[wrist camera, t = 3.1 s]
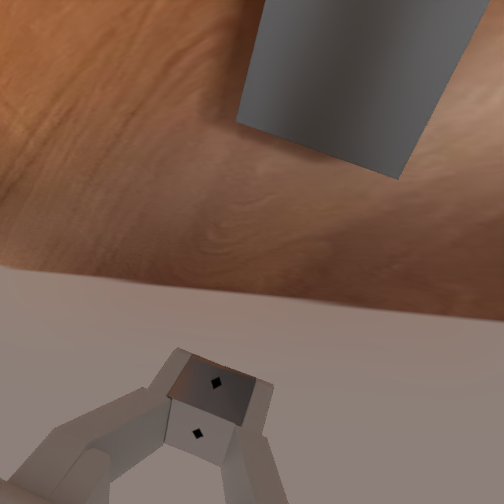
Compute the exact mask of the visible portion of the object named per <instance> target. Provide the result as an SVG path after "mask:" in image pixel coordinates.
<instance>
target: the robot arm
mask: <svg viewBox="0 0 504 504" xmlns="http://www.w3.org/2000/svg"><path fill="white" fill-rule="evenodd" d="M256 379H257V378H255V377H253V376H250V375H247V374H245V373H242V372H239V371H236V370H234V369H231V368H228V367H226V366H225V367H224V366H222V365H220V364H217V363H215V362H212V361H210V360H207V359H205V358H203V357H200V356H198V355H195V354H192V353H190V352H187V351H185V350H183V349H180V348H177V349H176V350H174V351H173V353H172V354H171V356H170V357H169V359H168V360H167V361H166V363H165V364H164V366H163V367H162V369H161V370H160V372H159V373H158V375H157V376H156V377H155V379H154V380H153V382H152V383H151V385H150V386H149V388H148V389H146V388H143V387H142V388H140V389H138V390H136V391H134V392H131V393H129V394H127V395H125V396H123V397H121V398H118V399H116V400H114V401H112V402H110V403H108V404H106V405H103V406H101V407H99V408H97V409H95V410H93V411H91V412H88V413H86V414H84V415H82V416H80V417H78V418H76V419H73V420H71V421H69V422H67V423H65V424H62V425H60V426H58V427H56V428H54V429H53V430H52V431H51V433H50V434H49V435H48V436H47V437H46V438H45V439H44V440H43V442H42V443H41V444H40V445H39V446H38V447H37V448H36V449H35V451H34V452H33V453H32V454H31V455H30V456H29V457H28V458H27V459H26V461H25V462H24V463H23V464H22V465H21V466H20V467H19V468H18V470H17V471H16V472H15V473H14V474H13V475H12V476H11V477H10V479H9V480H8V481H5V480H3V479H1V478H0V504H109V488H110V483H111V482H113V481H114V480H115V479H117V478H118V477H119V476H121V475H122V474H124V473H125V472H126V471H128V470H129V469H131V468H132V467H133V466H135V465H136V464H138V463H139V462H140V461H142V460H143V459H144V458H146V457H147V456H148V455H150V454H151V453H153V452H154V451H155V450H157V449H158V448H160V447H161V446H163V443H165V444H168V445H170V446H173V447H176V448H178V449H181V450H183V451H186V452H188V453H191V454H193V455H195V456H198V457H200V458H202V459H204V460H206V461H209V462H211V463H213V464H215V465H217V466H219V467H221V473H222V480H223V487H224V493H225V500H226V504H288V501H287V498H286V495H285V492H284V489H283V486H282V483H281V480H280V477H279V474H278V471H277V468H276V465H275V461H274V458H273V455H272V452H271V449H270V446H269V444H268V440H267V438H266V437H264V436H262V431H263V427H264V424H265V420H266V416H267V412H268V408H269V404H270V401H271V396H272V393H273V389H274V386H273V384H270V383H268V382H266V381H263V380H260V379H257V380H256Z"/></svg>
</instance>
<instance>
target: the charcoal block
mask: <svg viewBox="0 0 504 504" xmlns="http://www.w3.org/2000/svg"><path fill="white" fill-rule="evenodd" d="M489 2H490V0H265V4H264V8H263V12H262V16H261V21H260V25H259V29H258V33H257V37H256V41H255V45H254V49H253V53H252V57H251V61H250V65H249V69H248V73H247V77H246V81H245V85H244V89H243V93H242V97H241V101H240V105H239V109H238V113H237V117H236V121H235V122H238V123H241V124H243V125H246V126H249V127H252V128H255V129H257V130H260V131H263V132H266V133H269V134H271V135H274V136H277V137H280V138H283V139H285V140H288V141H291V142H294V143H297V144H299V145H302V146H305V147H308V148H311V149H313V150H316V151H319V152H322V153H325V154H327V155H330V156H333V157H336V158H339V159H341V160H344V161H347V162H350V163H353V164H355V165H358V166H361V167H364V168H367V169H369V170H372V171H375V172H378V173H381V174H383V175H386V176H389V177H392V178H394V179H397V180H398V179H399V177H400V175H401V173H402V171H403V169H404V167H405V165H406V163H407V161H408V159H409V157H410V156H411V154H412V152H413V150H414V148H415V146H416V144H417V142H418V140H419V138H420V136H421V134H422V132H423V130H424V128H425V126H426V124H427V123H428V121H429V119H430V117H431V115H432V113H433V111H434V109H435V107H436V105H437V103H438V101H439V99H440V97H441V95H442V93H443V91H444V89H445V88H446V86H447V84H448V82H449V80H450V78H451V76H452V74H453V72H454V70H455V68H456V66H457V64H458V62H459V60H460V58H461V56H462V54H463V53H464V51H465V49H466V47H467V45H468V43H469V41H470V39H471V37H472V35H473V33H474V31H475V29H476V27H477V25H478V23H479V21H480V19H481V18H482V16H483V14H484V12H485V10H486V8H487V6H488V4H489Z"/></svg>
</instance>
